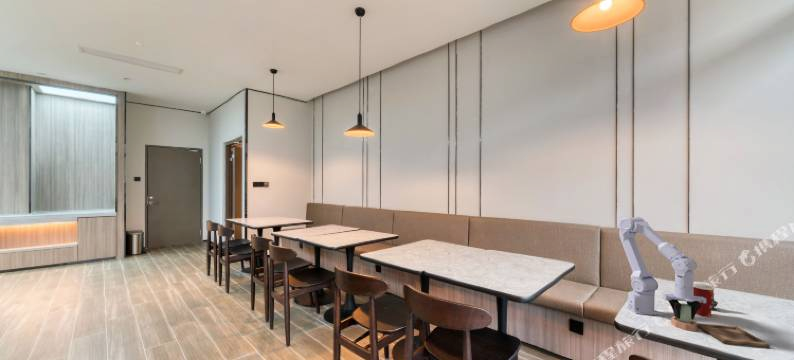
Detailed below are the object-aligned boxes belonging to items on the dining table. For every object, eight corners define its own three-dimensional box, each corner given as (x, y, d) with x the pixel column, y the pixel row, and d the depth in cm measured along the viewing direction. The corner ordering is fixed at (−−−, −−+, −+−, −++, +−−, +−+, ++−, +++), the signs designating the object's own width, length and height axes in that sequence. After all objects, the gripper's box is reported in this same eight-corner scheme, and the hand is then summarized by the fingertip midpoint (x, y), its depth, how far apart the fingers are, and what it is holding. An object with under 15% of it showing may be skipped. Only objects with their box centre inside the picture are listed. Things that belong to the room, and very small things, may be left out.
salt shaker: (697, 306, 149) (697, 281, 149) (708, 305, 149) (708, 281, 149) (710, 311, 143) (710, 286, 143) (721, 311, 143) (721, 285, 143)
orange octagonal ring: (679, 329, 126) (679, 323, 126) (667, 321, 133) (667, 315, 133) (701, 331, 124) (701, 325, 124) (688, 322, 132) (688, 317, 132)
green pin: (681, 328, 127) (681, 306, 127) (674, 323, 131) (674, 302, 131) (693, 329, 126) (694, 307, 126) (686, 324, 131) (686, 303, 130)
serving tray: (723, 343, 115) (723, 340, 115) (696, 326, 129) (696, 322, 129) (769, 348, 112) (769, 344, 112) (736, 329, 126) (736, 326, 126)
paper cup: (719, 318, 135) (719, 287, 135) (698, 317, 137) (698, 286, 137) (705, 311, 143) (705, 281, 143) (686, 309, 145) (686, 280, 145)
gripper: (670, 288, 126) (670, 320, 126) (712, 290, 123) (712, 324, 123) (659, 282, 133) (659, 313, 133) (699, 284, 130) (698, 316, 130)
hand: (684, 318), depth 129 cm, fingers closed on green pin, 4 cm apart
